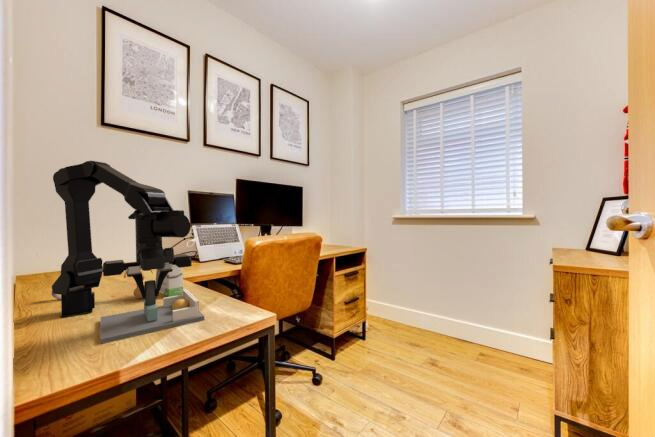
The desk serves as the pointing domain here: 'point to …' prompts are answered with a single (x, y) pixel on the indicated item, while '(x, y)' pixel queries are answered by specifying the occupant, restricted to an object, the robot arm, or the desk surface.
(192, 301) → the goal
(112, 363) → the desk surface
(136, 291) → the figurine
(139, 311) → the board
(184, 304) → the ball
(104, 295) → the desk surface
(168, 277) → the ink box
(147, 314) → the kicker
